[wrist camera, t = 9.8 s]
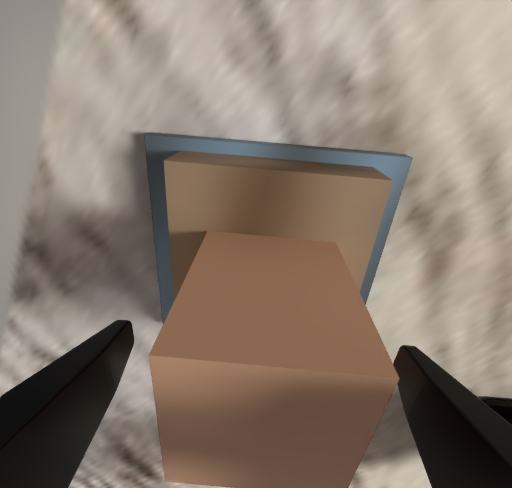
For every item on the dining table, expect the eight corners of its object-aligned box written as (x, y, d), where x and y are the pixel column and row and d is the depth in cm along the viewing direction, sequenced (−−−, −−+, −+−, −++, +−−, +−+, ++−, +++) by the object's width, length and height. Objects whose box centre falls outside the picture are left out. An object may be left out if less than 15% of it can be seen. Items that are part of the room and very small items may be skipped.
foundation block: (404, 154, 12) (442, 169, 10) (347, 339, 17) (361, 384, 15) (151, 132, 12) (118, 141, 10) (168, 324, 17) (149, 365, 15)
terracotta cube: (335, 242, 11) (399, 378, 6) (313, 337, 13) (343, 497, 8) (207, 230, 11) (148, 355, 6) (207, 327, 13) (165, 481, 8)
